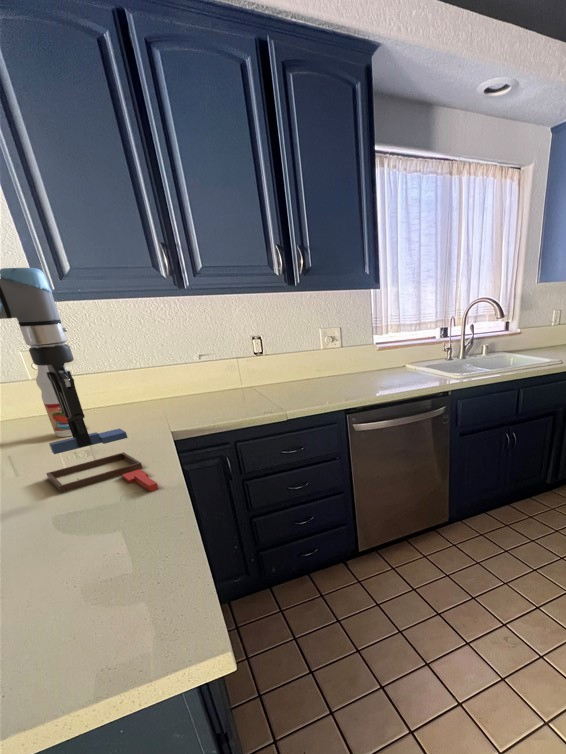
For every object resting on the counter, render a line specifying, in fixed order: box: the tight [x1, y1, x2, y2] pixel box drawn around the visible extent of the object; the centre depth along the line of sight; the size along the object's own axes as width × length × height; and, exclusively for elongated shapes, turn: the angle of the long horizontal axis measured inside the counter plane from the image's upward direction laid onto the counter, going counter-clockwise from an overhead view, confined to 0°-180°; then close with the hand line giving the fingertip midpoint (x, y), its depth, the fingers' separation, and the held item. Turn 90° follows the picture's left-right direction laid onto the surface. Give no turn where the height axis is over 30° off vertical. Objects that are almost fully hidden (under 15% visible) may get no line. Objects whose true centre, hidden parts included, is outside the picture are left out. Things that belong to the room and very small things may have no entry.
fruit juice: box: [35, 365, 73, 438], centre depth 150 cm, size 9×9×28 cm
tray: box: [45, 452, 143, 494], centre depth 118 cm, size 20×14×2 cm
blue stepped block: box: [48, 428, 128, 455], centre depth 105 cm, size 16×5×2 cm, turn 136°
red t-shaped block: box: [121, 469, 159, 492], centre depth 112 cm, size 16×5×2 cm, turn 48°
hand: (83, 444), depth 105 cm, fingers closed on blue stepped block, 2 cm apart
